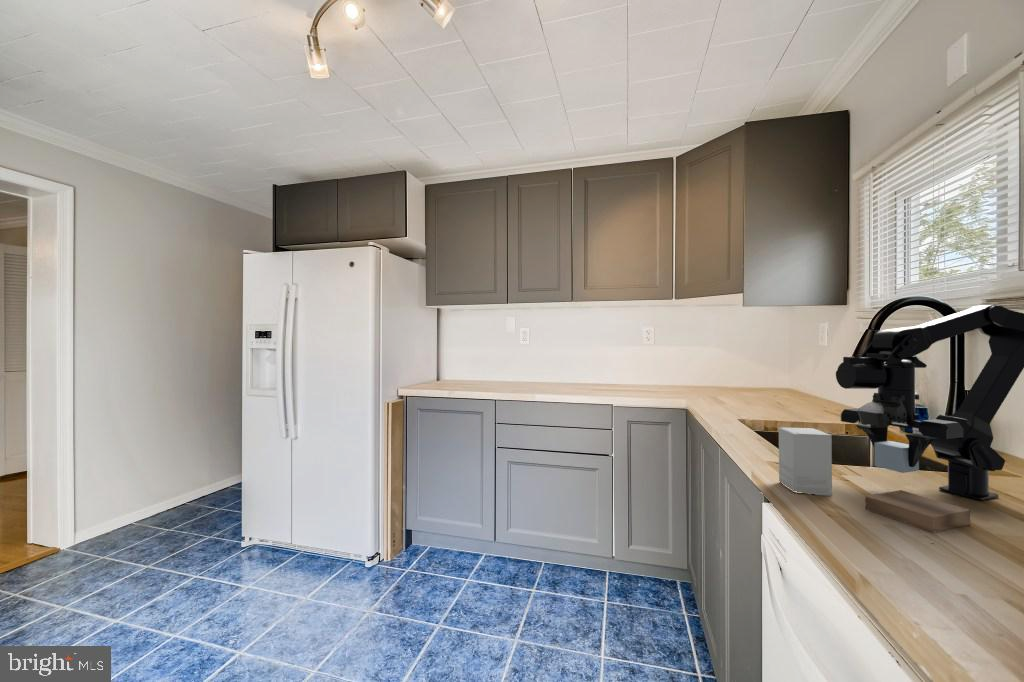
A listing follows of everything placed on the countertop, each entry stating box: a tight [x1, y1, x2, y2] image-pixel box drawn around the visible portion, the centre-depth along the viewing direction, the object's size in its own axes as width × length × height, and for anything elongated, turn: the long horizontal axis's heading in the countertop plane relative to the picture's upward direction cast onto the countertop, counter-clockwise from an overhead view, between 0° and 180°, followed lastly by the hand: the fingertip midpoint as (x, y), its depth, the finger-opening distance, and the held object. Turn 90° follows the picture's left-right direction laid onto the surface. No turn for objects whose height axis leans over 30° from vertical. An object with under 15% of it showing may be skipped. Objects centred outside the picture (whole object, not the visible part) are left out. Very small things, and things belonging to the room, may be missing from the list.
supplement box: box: [778, 427, 833, 497], centre depth 89 cm, size 7×7×13 cm
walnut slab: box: [864, 489, 971, 533], centre depth 75 cm, size 10×10×2 cm
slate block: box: [873, 440, 920, 474], centre depth 86 cm, size 5×5×5 cm
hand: (896, 463), depth 86 cm, fingers closed on slate block, 5 cm apart
